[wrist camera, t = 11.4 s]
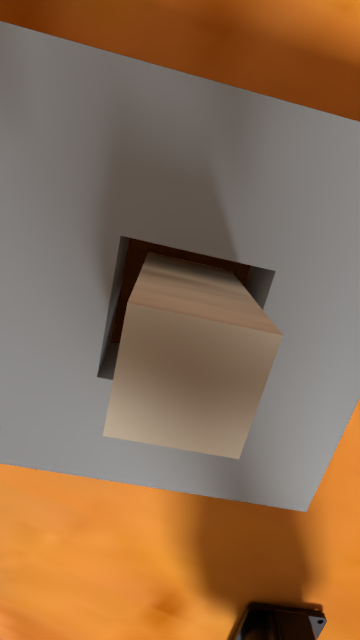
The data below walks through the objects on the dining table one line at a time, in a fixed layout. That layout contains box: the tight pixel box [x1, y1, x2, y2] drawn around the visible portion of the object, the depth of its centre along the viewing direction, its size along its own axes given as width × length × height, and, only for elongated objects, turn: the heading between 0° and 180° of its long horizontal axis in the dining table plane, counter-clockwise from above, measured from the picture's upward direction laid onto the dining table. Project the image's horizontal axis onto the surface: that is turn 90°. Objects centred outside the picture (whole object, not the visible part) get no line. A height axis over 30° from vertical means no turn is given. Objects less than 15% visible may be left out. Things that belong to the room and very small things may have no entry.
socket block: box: [0, 21, 360, 512], centre depth 17 cm, size 18×18×4 cm
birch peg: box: [103, 252, 283, 459], centre depth 14 cm, size 4×4×9 cm
